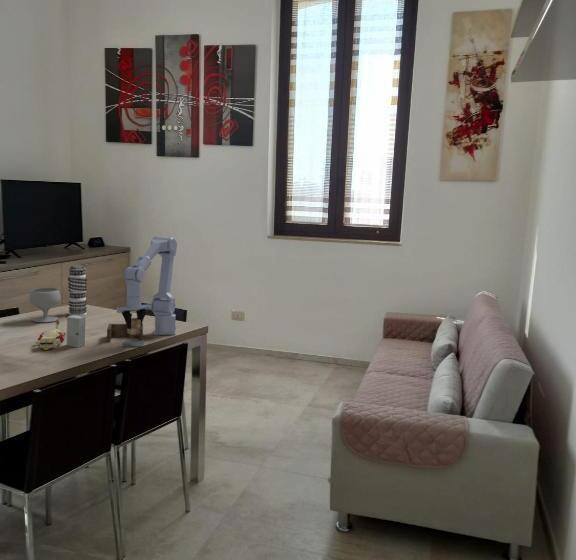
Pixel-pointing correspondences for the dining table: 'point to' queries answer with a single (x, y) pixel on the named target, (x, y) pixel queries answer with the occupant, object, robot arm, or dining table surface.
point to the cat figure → (51, 338)
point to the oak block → (134, 326)
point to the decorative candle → (77, 290)
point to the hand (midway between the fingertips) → (134, 327)
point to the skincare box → (75, 331)
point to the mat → (133, 344)
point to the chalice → (44, 302)
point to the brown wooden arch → (121, 331)
